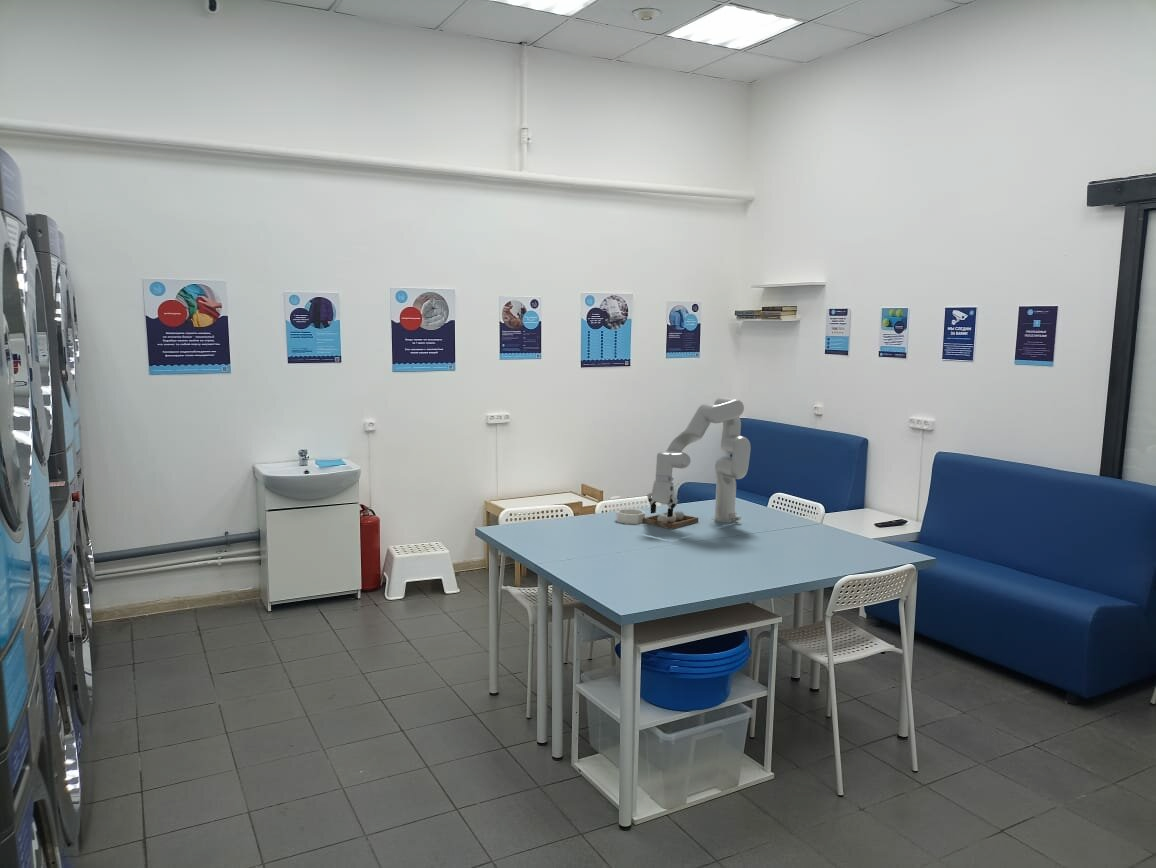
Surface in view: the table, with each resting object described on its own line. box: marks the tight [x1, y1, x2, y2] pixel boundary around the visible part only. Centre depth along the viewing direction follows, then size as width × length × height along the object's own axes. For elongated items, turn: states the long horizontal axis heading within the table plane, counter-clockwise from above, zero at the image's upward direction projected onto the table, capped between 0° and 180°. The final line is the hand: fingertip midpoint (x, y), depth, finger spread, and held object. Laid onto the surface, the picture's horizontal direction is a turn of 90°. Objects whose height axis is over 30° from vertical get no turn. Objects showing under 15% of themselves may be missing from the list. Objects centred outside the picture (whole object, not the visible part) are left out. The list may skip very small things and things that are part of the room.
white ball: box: [657, 513, 668, 523], centre depth 378 cm, size 5×5×5 cm
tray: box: [643, 511, 699, 530], centre depth 383 cm, size 17×21×3 cm
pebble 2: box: [666, 512, 676, 523], centre depth 383 cm, size 5×5×5 cm
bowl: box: [615, 508, 646, 525], centre depth 386 cm, size 13×13×5 cm
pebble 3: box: [673, 509, 685, 521], centre depth 388 cm, size 5×5×5 cm
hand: (661, 514), depth 378 cm, fingers open, 9 cm apart
